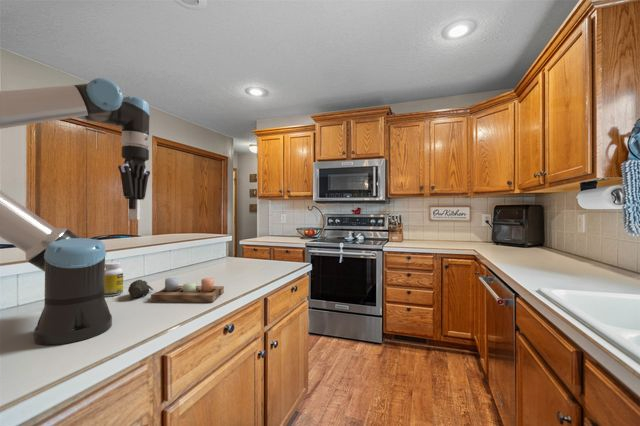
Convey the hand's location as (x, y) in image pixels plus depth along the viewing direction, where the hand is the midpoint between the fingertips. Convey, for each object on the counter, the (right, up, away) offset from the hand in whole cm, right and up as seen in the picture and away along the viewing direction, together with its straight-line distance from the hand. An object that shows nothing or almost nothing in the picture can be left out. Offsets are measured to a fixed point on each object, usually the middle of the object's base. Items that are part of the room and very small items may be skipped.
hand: (134, 219), depth 92 cm
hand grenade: (-5, -29, +11) cm, 31 cm away
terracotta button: (+20, -26, +11) cm, 35 cm away
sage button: (+13, -28, +10) cm, 33 cm away
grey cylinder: (+7, -26, +10) cm, 29 cm away
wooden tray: (+13, -29, +10) cm, 33 cm away
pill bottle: (-16, -28, +12) cm, 34 cm away
